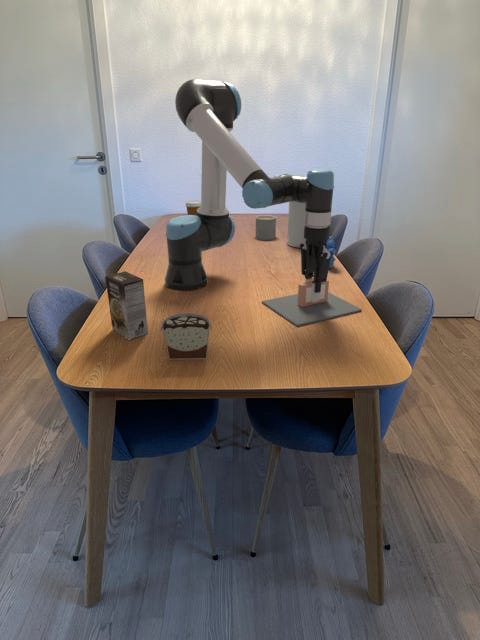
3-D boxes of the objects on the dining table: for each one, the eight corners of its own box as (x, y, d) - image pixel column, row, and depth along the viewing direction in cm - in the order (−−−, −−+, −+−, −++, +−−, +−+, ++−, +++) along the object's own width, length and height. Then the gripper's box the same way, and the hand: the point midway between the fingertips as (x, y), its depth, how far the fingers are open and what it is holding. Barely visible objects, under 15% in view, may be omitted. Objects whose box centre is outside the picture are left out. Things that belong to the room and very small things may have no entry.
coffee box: (111, 330, 122) (103, 275, 115) (131, 323, 126) (125, 270, 119) (128, 340, 116) (121, 284, 109) (149, 333, 120) (143, 278, 113)
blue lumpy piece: (313, 262, 179) (316, 233, 174) (330, 261, 180) (332, 233, 175) (320, 271, 169) (322, 240, 164) (337, 270, 169) (340, 240, 164)
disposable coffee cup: (184, 222, 248) (183, 201, 243) (201, 221, 250) (200, 200, 245) (188, 226, 240) (187, 203, 234) (205, 224, 242) (204, 202, 237)
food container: (213, 347, 113) (212, 311, 108) (212, 358, 107) (211, 322, 103) (165, 347, 112) (163, 312, 108) (162, 359, 107) (159, 323, 102)
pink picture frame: (323, 298, 141) (324, 278, 138) (327, 301, 139) (329, 280, 136) (297, 304, 136) (298, 283, 133) (301, 307, 135) (302, 286, 132)
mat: (297, 326, 124) (297, 324, 123) (261, 302, 140) (261, 301, 139) (361, 311, 134) (361, 309, 133) (321, 290, 150) (321, 288, 149)
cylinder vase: (285, 247, 200) (287, 191, 189) (289, 240, 211) (291, 187, 200) (312, 249, 197) (316, 192, 187) (315, 242, 208) (319, 188, 198)
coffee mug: (276, 239, 212) (277, 219, 208) (256, 240, 212) (257, 219, 207) (272, 233, 224) (273, 213, 220) (253, 233, 224) (253, 214, 219)
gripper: (344, 229, 123) (337, 305, 132) (312, 219, 135) (307, 290, 145) (323, 232, 119) (317, 310, 129) (291, 221, 132) (288, 294, 142)
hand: (312, 299), depth 137 cm, fingers closed on pink picture frame, 2 cm apart
